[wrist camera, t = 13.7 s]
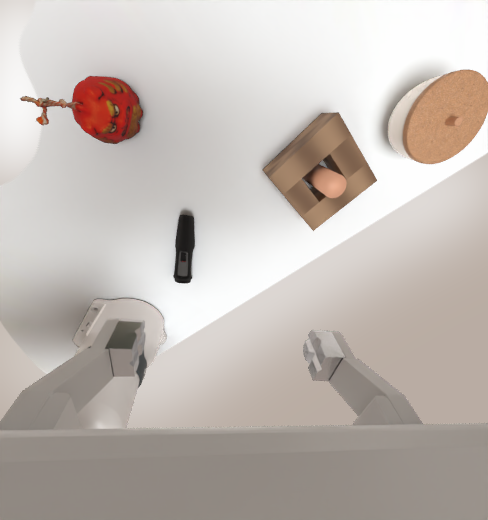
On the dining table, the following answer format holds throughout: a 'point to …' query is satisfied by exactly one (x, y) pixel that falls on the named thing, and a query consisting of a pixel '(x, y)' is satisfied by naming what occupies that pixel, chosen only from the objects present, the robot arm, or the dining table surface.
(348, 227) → the dining table surface
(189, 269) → the electric trimmer
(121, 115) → the red clay folk toy
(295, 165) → the socket block
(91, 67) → the dining table surface
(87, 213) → the dining table surface
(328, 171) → the peg
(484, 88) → the lidded jar
